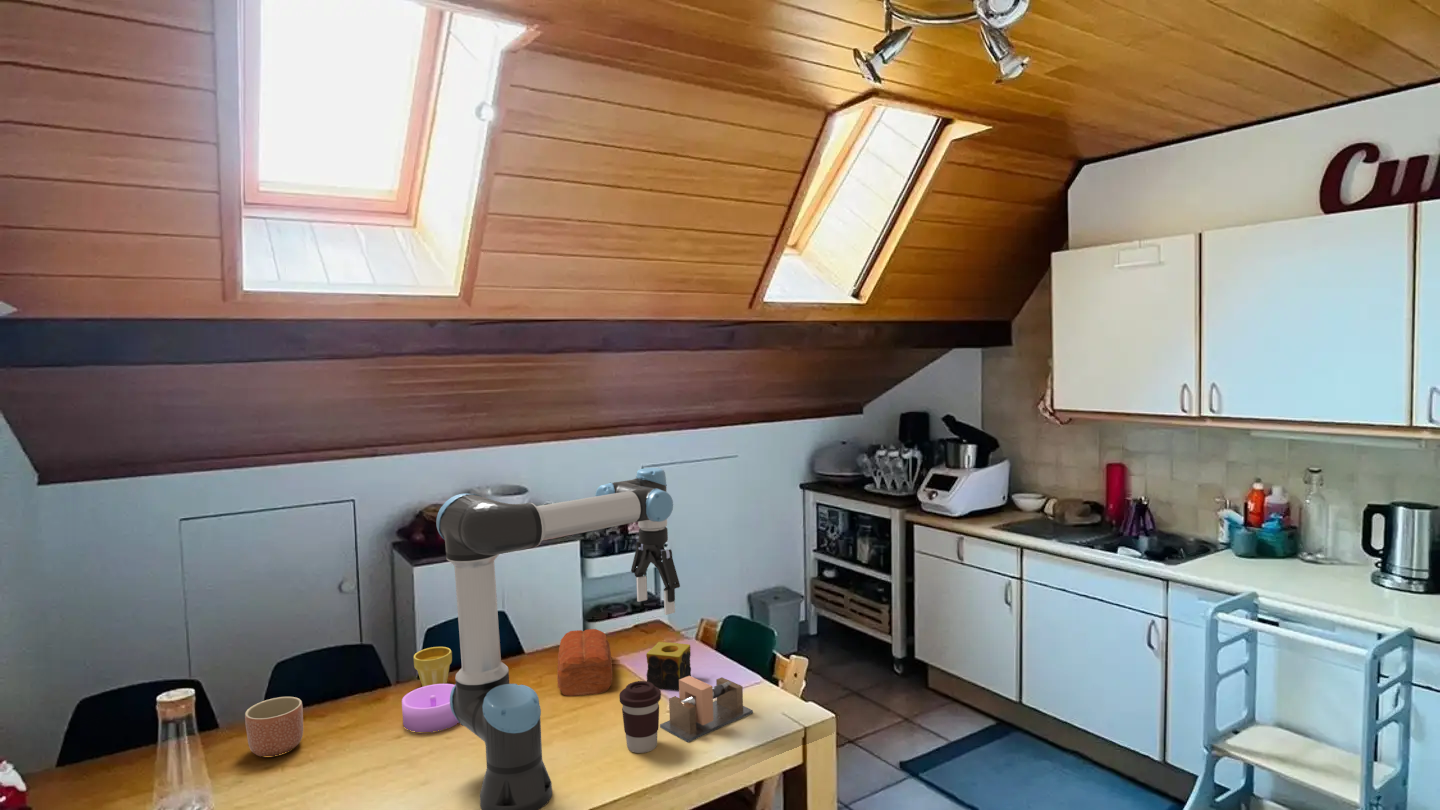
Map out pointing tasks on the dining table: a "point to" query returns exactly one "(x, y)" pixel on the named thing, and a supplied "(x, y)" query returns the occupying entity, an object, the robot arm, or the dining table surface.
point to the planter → (274, 725)
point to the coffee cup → (640, 715)
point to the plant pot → (433, 665)
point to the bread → (584, 663)
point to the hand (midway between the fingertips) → (655, 606)
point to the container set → (428, 708)
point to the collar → (698, 697)
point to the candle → (668, 665)
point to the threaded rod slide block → (723, 711)
